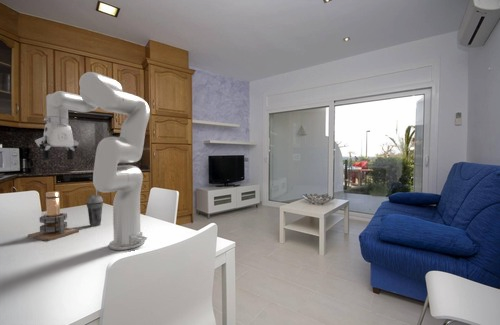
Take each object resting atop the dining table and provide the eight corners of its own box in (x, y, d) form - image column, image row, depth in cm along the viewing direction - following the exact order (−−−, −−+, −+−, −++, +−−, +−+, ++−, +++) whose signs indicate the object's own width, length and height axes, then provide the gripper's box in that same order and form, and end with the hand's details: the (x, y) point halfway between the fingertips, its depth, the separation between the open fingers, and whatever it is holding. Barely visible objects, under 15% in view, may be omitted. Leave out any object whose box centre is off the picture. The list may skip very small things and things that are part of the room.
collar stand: (78, 232, 105) (78, 213, 105) (48, 241, 94) (48, 220, 94) (58, 228, 110) (58, 211, 110) (27, 236, 99) (27, 217, 99)
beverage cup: (83, 226, 114) (82, 186, 114) (98, 222, 121) (98, 184, 120) (91, 228, 111) (90, 187, 110) (106, 224, 117) (106, 185, 117)
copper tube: (63, 231, 103) (61, 191, 103) (51, 234, 99) (50, 193, 98) (56, 229, 105) (55, 191, 104) (44, 233, 101) (43, 192, 100)
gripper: (40, 118, 95) (42, 159, 95) (82, 124, 111) (83, 159, 112) (29, 119, 97) (30, 159, 98) (72, 125, 114) (73, 159, 114)
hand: (59, 159), depth 105 cm, fingers open, 9 cm apart
